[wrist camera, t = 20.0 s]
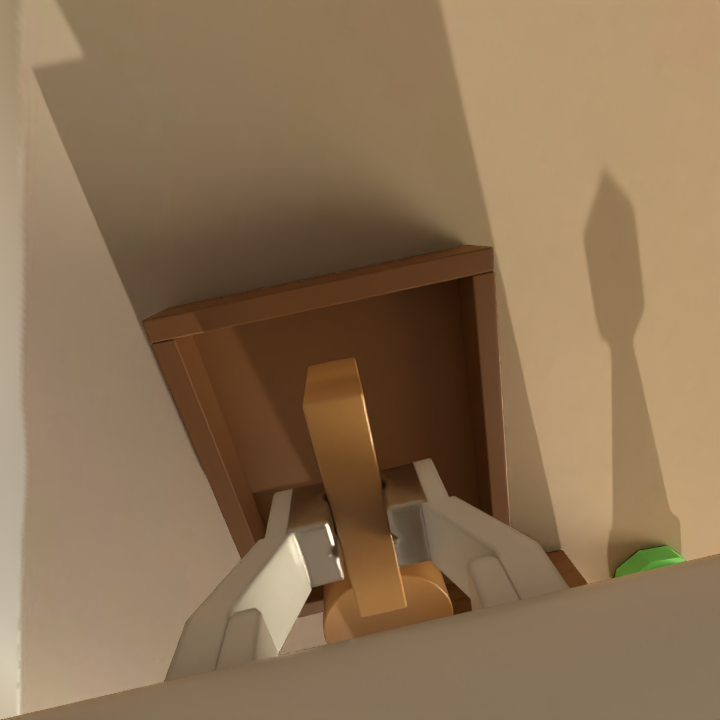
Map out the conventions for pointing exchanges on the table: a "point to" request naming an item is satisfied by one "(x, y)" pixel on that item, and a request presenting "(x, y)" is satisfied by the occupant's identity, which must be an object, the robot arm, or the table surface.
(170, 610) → the table surface
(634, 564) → the game piece
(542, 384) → the table surface
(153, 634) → the table surface
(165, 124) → the table surface
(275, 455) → the walnut tray
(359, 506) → the beech spoon
